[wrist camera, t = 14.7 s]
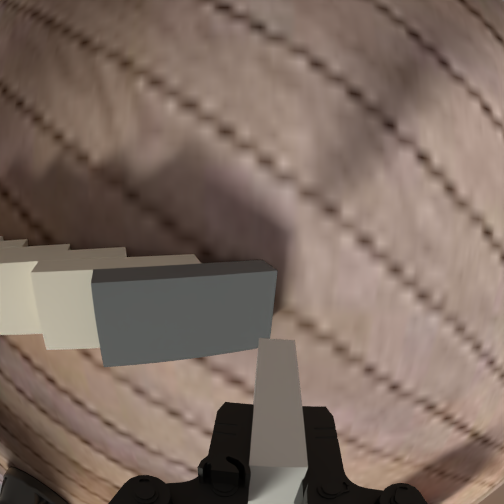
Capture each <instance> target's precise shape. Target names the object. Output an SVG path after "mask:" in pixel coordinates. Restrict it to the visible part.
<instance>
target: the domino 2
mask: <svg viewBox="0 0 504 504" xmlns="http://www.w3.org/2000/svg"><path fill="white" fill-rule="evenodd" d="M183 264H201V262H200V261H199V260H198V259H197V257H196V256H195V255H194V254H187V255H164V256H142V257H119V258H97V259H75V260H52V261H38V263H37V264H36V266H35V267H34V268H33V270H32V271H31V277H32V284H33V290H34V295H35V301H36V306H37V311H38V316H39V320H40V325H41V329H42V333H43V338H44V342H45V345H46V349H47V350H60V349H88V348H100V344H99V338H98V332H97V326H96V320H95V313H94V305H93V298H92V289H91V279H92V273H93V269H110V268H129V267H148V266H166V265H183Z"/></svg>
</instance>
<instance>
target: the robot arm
mask: <svg viewBox="0 0 504 504" xmlns="http://www.w3.org/2000/svg"><path fill="white" fill-rule="evenodd" d="M0 504H68V503H66V502H65V501H64V500H63V499H62V498H61V497H60V496H58V495H57V494H56V493H54V492H53V491H52V490H50V489H49V488H48V487H46V486H45V485H43V484H42V483H41V482H39V481H38V480H36V479H34V478H33V477H31V476H30V475H28V474H26V473H24V472H23V471H21V470H18V469H16V468H13V467H10V468H9V469H8V470H7V471H6V473H5V474H4V480H3V483H2V488H1V493H0ZM108 504H427V502H426V501H425V499H424V498H423V496H422V495H421V493H420V492H419V491H418V490H417V489H416V488H415V487H413V486H411V485H409V484H404V483H397V484H392V485H390V486H389V487H387V488H385V490H384V491H382V490H375V489H368V488H364V487H360V486H358V485H356V484H354V483H352V482H351V481H350V480H349V479H348V478H347V476H346V475H345V472H344V469H343V463H342V458H341V453H340V448H339V443H338V439H337V433H336V430H335V423H334V418H333V415H332V414H331V413H330V412H329V410H328V409H327V408H326V407H310V406H302V400H301V390H300V381H299V372H298V363H297V355H296V346H295V340H281V339H267V338H259V345H258V356H257V367H256V377H255V388H254V401H253V405H252V404H240V403H230V402H225V403H224V404H223V405H222V406H221V408H220V409H219V410H218V411H217V416H216V420H215V425H214V430H213V435H212V439H211V444H210V449H209V454H208V456H207V457H206V458H204V459H203V460H202V461H201V462H200V464H199V466H198V477H197V478H195V479H193V480H190V481H187V482H181V483H167V484H165V482H163V481H162V480H160V479H159V478H157V477H153V476H149V475H139V476H136V477H133V478H131V479H129V480H128V481H127V482H126V483H125V484H124V485H123V486H122V487H121V489H120V490H119V491H118V492H117V494H116V495H115V496H114V497H113V499H112V500H111V501H110V502H109V503H108Z"/></svg>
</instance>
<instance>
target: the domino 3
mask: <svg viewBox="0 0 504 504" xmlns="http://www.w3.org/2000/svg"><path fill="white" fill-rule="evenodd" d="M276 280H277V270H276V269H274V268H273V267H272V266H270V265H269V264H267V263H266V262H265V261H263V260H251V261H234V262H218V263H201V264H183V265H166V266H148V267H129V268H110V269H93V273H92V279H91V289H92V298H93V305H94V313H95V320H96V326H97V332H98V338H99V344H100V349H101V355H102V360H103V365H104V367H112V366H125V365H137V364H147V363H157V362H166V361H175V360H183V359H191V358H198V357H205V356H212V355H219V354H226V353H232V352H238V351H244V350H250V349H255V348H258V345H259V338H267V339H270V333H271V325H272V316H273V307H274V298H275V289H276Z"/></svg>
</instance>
